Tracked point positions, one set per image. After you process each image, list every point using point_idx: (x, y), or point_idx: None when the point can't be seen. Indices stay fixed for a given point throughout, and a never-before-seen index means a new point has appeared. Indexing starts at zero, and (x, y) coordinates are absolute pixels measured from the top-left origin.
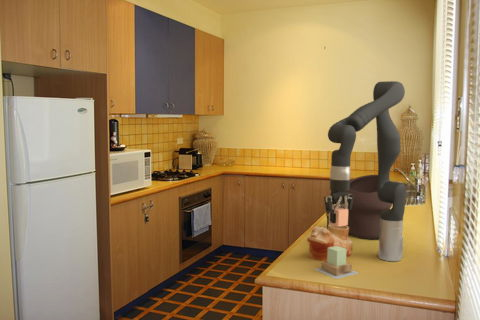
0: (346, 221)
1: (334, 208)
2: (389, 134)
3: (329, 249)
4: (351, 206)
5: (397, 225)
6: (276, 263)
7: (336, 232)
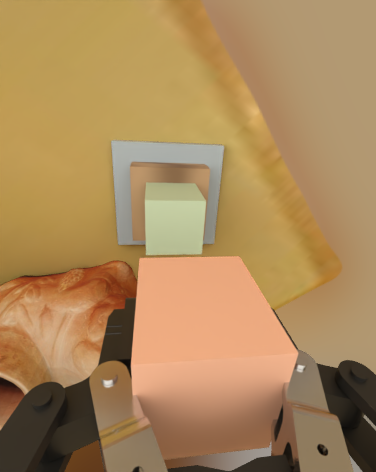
0: (155, 274)
1: (323, 405)
2: None
3: (201, 242)
4: (14, 427)
5: None
6: None
7: (31, 365)
